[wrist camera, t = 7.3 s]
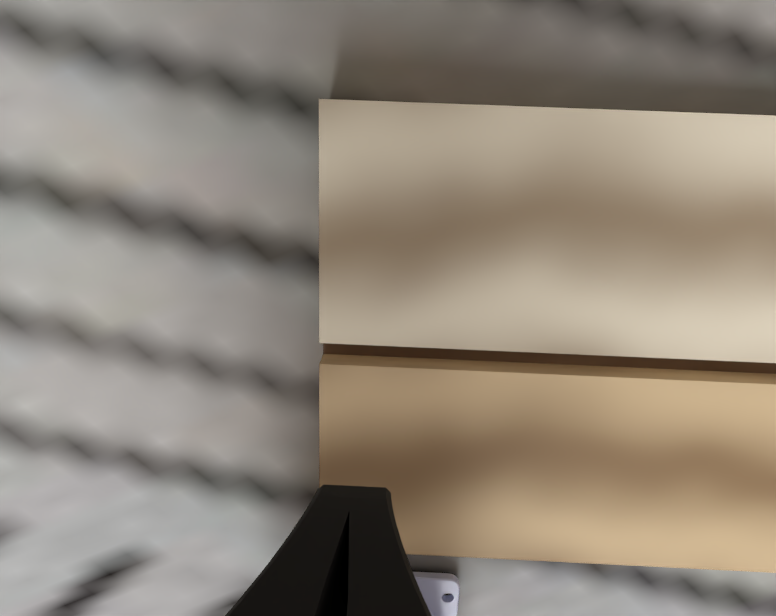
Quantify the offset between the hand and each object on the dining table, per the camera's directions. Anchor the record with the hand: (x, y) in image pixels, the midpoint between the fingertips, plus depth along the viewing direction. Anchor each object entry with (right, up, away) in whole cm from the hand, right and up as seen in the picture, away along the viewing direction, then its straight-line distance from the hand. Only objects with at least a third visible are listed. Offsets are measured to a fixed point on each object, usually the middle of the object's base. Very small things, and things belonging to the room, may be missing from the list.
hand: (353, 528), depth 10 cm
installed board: (+10, -1, +11) cm, 15 cm away
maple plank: (+10, +7, +9) cm, 15 cm away
